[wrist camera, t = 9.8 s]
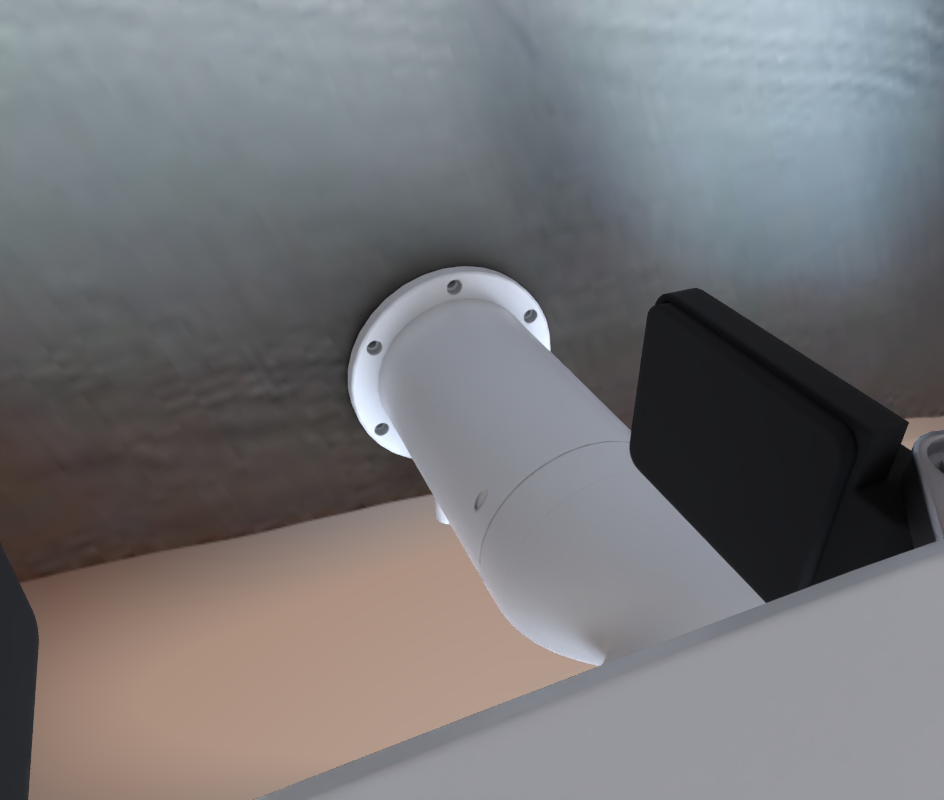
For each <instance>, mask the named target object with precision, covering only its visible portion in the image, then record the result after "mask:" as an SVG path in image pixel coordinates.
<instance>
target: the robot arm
mask: <svg viewBox="0 0 944 800" xmlns="http://www.w3.org/2000/svg"><path fill="white" fill-rule="evenodd" d="M451 281H452V282H451ZM450 282H451V283H450ZM449 283H450V284H449ZM372 341H373V343H371V344H369V343H370V342H372ZM348 391H349V395H350V400H351V404H352V406H353V408H354V411H355V413H356V415H357V417H358V419H359V421H360V423H361V424H362V426H363V427H364V429H365V430H366V432H367V433H368V434H369V435H370V436H371V437H372V438H373V439H374V440H375V441H376V442H377V443H378V444H379V445H381V446H383V447H384V448H386V449H388V450H390V451H391V452H393V453H396V454H399V455H402V456H405V457H408V458H412V459H413V461H414V462H415V464H416V466H417V468H418V469H419V471H420V473H421V475H422V476H423V478H424V480H425V481H426V483H427V485H428V487H429V488H430V490H431V492H432V494H433V495H434V501H435V516H436V518H437V520H438V521H440V522H442V523H444V524H450V525H451V526H452V528H453V530H454V532H455V534H456V535H457V537H458V539H459V540H460V542H461V543H462V546H463V547H464V549H465V551H466V553H467V554H468V556H469V558H470V559H471V561H472V563H473V565H474V566H475V568H476V570H477V572H478V573H479V575H480V577H481V579H482V580H483V582H484V584H485V586H486V588H487V589H488V591H489V593H490V595H491V596H492V598H493V600H494V601H495V603H496V605H497V606H498V608H499V609H500V611H501V612H502V614H503V615H504V616H505V618H506V619H507V620H508V621H509V622H510V623H511V624H512V625H513V626H514V627H515V628H516V629H517V630H518V631H519V632H520V633H522V634H523V635H525V636H526V637H527V638H529V639H530V640H532V641H533V642H535V643H536V644H538V645H540V646H542V647H544V648H546V649H548V650H550V651H552V652H555V653H557V654H560V655H562V656H565V657H569V658H572V659H575V660H578V661H582V662H585V663H589V664H594V665H598V666H599V667H596V668H593V669H591V670H588V671H586V672H583V673H580V674H578V675H575V676H572V677H570V678H567V679H565V680H562V681H559V682H557V683H554V684H552V685H549V686H546V687H544V688H541V689H538V690H536V691H533V692H531V693H528V694H525V695H523V696H520V697H517V698H515V699H512V700H510V701H507V702H504V703H502V704H499V705H497V706H494V707H491V708H489V709H486V710H484V711H481V712H478V713H476V714H473V715H470V716H468V717H466V718H463V719H460V720H458V721H455V722H452V723H450V724H447V725H445V726H442V727H440V728H437V729H434V730H432V731H429V732H427V733H424V734H422V735H419V736H416V737H414V738H411V739H408V740H406V741H403V742H401V743H398V744H396V745H393V746H391V747H388V748H385V749H383V750H380V751H378V752H375V753H372V754H370V755H367V756H365V757H362V758H359V759H357V760H354V761H352V762H349V763H347V764H344V765H341V766H339V767H336V768H334V769H331V770H328V771H326V772H323V773H321V774H318V775H316V776H313V777H311V778H308V779H305V780H303V781H300V782H298V783H295V784H292V785H290V786H287V787H285V788H282V789H279V790H277V791H274V792H272V793H269V794H267V795H264V796H261V797H259V798H256V799H254V800H944V430H942V431H933V432H929V433H927V434H925V435H922V436H920V437H919V438H918V440H917V441H916V442H915V443H914V446H913V448H912V451H911V450H909V449H908V448H906V447H905V446H903V445H902V444H901V442H902V439H903V437H904V434H905V431H906V429H907V426H908V424H909V422H908V421H906V420H904V419H903V418H901V417H900V416H898V415H897V414H895V413H894V412H892V411H890V410H889V409H887V408H886V407H884V406H883V405H881V404H879V403H878V402H876V401H875V400H873V399H872V398H870V397H869V396H867V395H865V394H864V393H862V392H861V391H859V390H858V389H856V388H854V387H853V386H851V385H850V384H848V383H847V382H845V381H844V380H842V379H840V378H839V377H837V376H836V375H834V374H833V373H831V372H829V371H828V370H826V369H825V368H823V367H822V366H820V365H819V364H817V363H815V362H814V361H812V360H811V359H809V358H808V357H806V356H804V355H803V354H801V353H800V352H798V351H797V350H795V349H794V348H792V347H790V346H789V345H787V344H786V343H784V342H783V341H781V340H779V339H778V338H776V337H775V336H773V335H772V334H770V333H769V332H767V331H765V330H764V329H762V328H761V327H759V326H758V325H756V324H755V323H753V322H751V321H750V320H748V319H747V318H745V317H744V316H742V315H740V314H739V313H737V312H736V311H734V310H733V309H731V308H730V307H728V306H726V305H725V304H723V303H722V302H720V301H719V300H717V299H715V298H714V297H712V296H711V295H709V294H708V293H706V292H705V291H703V290H701V289H698V288H692V289H687V290H682V291H677V292H673V293H668V294H663V295H662V296H660V297H659V298H658V300H657V302H656V304H655V306H653V307H652V308H651V309H650V310H649V312H648V316H647V322H646V329H645V336H644V343H643V350H642V358H641V365H640V372H639V379H638V386H637V394H636V401H635V408H634V415H633V422H632V430H630V429H629V428H628V427H626V426H625V425H624V424H623V423H622V422H621V421H620V420H619V419H618V418H617V417H616V416H615V415H614V414H613V413H612V412H611V411H610V410H609V409H608V408H607V407H606V406H605V405H604V404H603V403H602V402H601V401H600V400H599V399H598V398H597V397H596V396H595V395H594V394H593V393H592V392H591V391H590V390H589V389H588V388H587V387H586V386H585V385H584V384H583V383H582V382H581V381H580V380H579V379H578V378H577V377H576V376H575V375H574V374H573V373H572V372H571V371H570V370H569V369H568V368H567V367H566V366H565V365H564V364H562V363H561V362H560V361H559V360H558V359H557V358H556V357H555V356H554V355H553V354H552V353H551V352H550V333H549V329H548V325H547V321H546V318H545V316H544V314H543V312H542V310H541V308H540V306H539V304H538V303H537V302H536V300H535V299H534V298H533V297H532V296H531V295H530V294H529V292H528V291H527V290H525V289H524V288H523V287H522V286H521V285H520V284H518V283H517V282H516V281H515V280H513V279H511V278H509V277H508V276H506V275H504V274H502V273H500V272H497V271H494V270H490V269H487V268H483V267H471V266H459V267H451V268H443V269H440V270H437V271H434V272H431V273H428V274H424V275H422V276H420V277H418V278H416V279H414V280H412V281H410V282H409V283H407V284H405V285H403V286H402V287H400V288H399V289H398V290H397V291H395V292H394V293H393V294H391V295H390V296H389V297H387V298H386V299H385V300H384V301H383V302H382V303H381V304H380V306H379V307H378V308H377V309H376V310H375V311H374V312H373V313H372V314H371V315H370V317H369V319H368V320H367V322H366V323H365V325H364V326H363V328H362V329H361V331H360V332H359V335H358V337H357V339H356V342H355V344H354V347H353V349H352V352H351V357H350V361H349V366H348ZM38 645H39V636H38V628H37V622H36V619H35V616H34V613H33V610H32V608H31V606H30V604H29V602H28V600H27V598H26V596H25V594H24V592H23V590H22V588H21V585H20V583H19V581H18V579H17V577H16V575H15V573H14V571H13V569H12V567H11V564H10V562H9V560H8V558H7V556H6V554H5V552H4V550H3V548H2V546H1V544H0V800H28V793H29V778H30V763H31V748H32V733H33V719H34V704H35V703H34V702H35V689H36V675H37V660H38Z"/></svg>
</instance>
